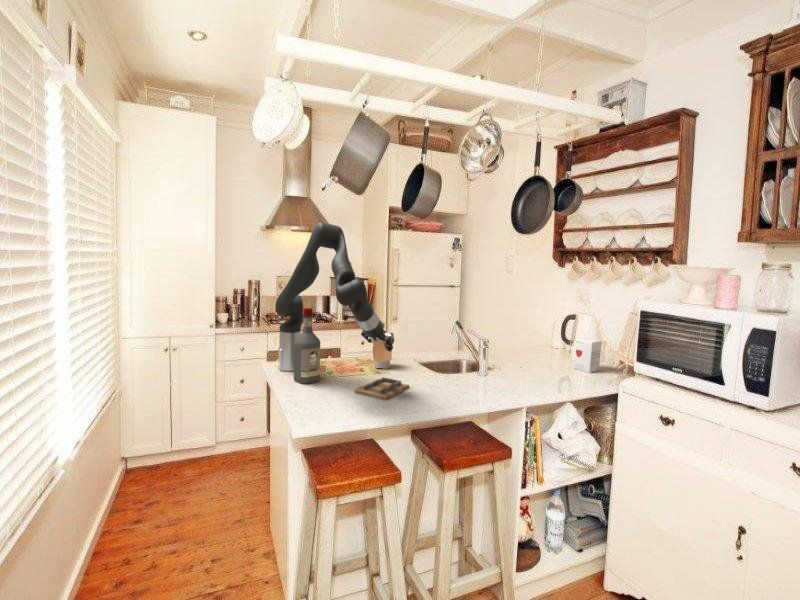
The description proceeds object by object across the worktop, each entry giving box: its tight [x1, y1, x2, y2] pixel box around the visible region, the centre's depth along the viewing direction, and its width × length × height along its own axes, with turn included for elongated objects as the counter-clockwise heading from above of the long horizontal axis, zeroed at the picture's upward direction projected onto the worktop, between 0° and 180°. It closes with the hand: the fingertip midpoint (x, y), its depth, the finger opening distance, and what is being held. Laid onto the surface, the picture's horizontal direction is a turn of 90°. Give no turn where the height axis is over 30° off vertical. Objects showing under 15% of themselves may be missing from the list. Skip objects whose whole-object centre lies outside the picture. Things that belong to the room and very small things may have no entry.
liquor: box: [293, 307, 321, 385], centre depth 181 cm, size 9×9×30 cm
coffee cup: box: [372, 343, 391, 370], centre depth 206 cm, size 10×10×15 cm
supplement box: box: [572, 337, 603, 374], centre depth 217 cm, size 9×9×15 cm
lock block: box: [373, 337, 393, 362], centre depth 173 cm, size 6×4×10 cm
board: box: [354, 376, 410, 401], centre depth 175 cm, size 18×14×3 cm
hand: (385, 348), depth 174 cm, fingers closed on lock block, 4 cm apart
